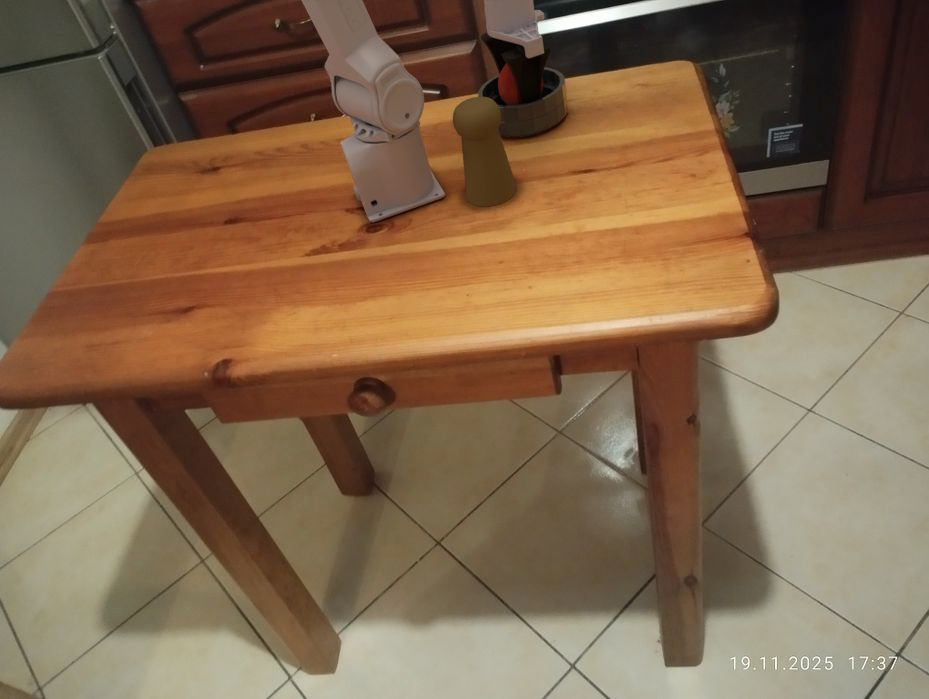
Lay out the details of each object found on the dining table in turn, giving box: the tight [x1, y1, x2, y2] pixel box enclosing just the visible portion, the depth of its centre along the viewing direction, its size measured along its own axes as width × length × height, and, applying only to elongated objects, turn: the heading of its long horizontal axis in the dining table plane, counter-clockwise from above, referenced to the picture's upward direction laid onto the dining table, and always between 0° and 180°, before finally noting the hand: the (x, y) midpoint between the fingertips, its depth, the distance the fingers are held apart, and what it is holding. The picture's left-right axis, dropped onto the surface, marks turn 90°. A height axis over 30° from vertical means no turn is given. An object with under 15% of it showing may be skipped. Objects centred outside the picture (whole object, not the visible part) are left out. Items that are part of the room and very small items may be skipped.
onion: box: [498, 63, 543, 105], centre depth 87 cm, size 6×6×8 cm
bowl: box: [477, 66, 569, 138], centre depth 88 cm, size 11×11×4 cm
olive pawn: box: [452, 96, 518, 208], centre depth 75 cm, size 6×6×11 cm
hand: (521, 94), depth 88 cm, fingers closed on onion, 6 cm apart
